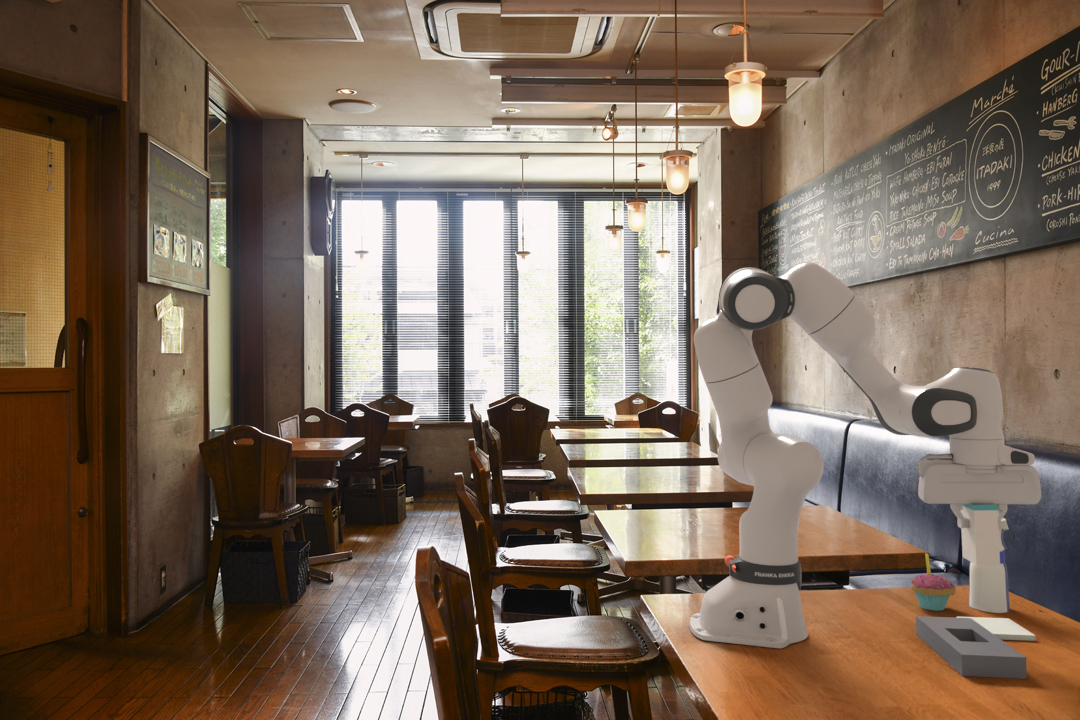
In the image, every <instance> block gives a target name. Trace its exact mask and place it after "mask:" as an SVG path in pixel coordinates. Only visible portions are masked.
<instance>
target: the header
mask: <svg viewBox="0 0 1080 720" xmlns="http://www.w3.org/2000/svg"><path fill="white" fill-rule="evenodd" d="M915 635H916V636H918V638H919V639H920V640H922V641H923V642H924V644H926V645H927V646H928V647H930V648H931V650H932V651H934V652H935V653H936V655H939V657H941V658H942V659H943V660H944V661H945V662H946V663H948V665H949V666H950V667H952V669H954V670H955V671H956V672H957V673H958V674H959V675H961V676H962V677H978V678H980V677H981V678H1000V679H1020V680H1021V679H1025V680H1027V679H1028V678H1027V675H1028V674H1027V657H1026V656H1025V655H1024V654H1022V653H1021V652H1019V651H1018V650H1016V649H1015V648H1013V646H1011V645H1010V644H1008V643H1007V642H1005V640H1004V641H1003V640H1002V639H999V638H998V637H997V636H995V635H994V634H992V633H991V632H990V631H988V630H987V629H985V628H984V627H983V626H981V625H980V624H978V623H977V622H975V621H974V620H973V619H971V618H956V617H950V616H948V617H947V616H924V615H922V616H920V615H918V616H917V615H916V616H915Z"/></svg>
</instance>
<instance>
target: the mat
mask: <svg viewBox="0 0 1080 720" xmlns="http://www.w3.org/2000/svg"><path fill="white" fill-rule="evenodd" d="M955 618H971V619H973V620H974V621H975V622H977V623H978V624H980V625H981V626H983V627H984V628H985V629H987V630H988V631H990V632H991V633H992V634H994V635H995V636H997V637H998V638H999V639H1001V640H1002V641H1003V640H1004V641H1005V640H1007V641H1009V640H1010V641H1031V642H1036V640H1037V637H1036V635H1035V634H1034V633H1033V632H1030V631H1029V630H1028V629H1026V628H1024V627H1023V626H1021V625H1020V624H1018V623H1017V622H1015V621H1013V620H1012V619H1010V618H1009V617H1008V618H1007V617H1006V618H1005V617H980V616H978V617H977V616H956V617H955Z"/></svg>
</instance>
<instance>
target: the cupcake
mask: <svg viewBox="0 0 1080 720" xmlns="http://www.w3.org/2000/svg"><path fill="white" fill-rule="evenodd" d="M924 554H925V565H926V573H921V574H918V575H916V576H914V578H912V579H911V584H910V589H911V590H912V591H913V592H914V594H915V596H916V599H917V601H918V604H919V607H920V608H922V609H924V610H928V611H933V612H939V611H941V612H942V611H944V610H945V609H946V606H947V603H948V601H949V598H950V597H951V596H954V595H955V593H956V587H955V584H954V583H952V581H951V580H949V579H948V578H947V577H944V576H943V575H938V574H934V573H931V572H932V571H931V564H930V556H929V553H928V551H927V549H925V553H924Z"/></svg>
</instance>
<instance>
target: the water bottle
mask: <svg viewBox="0 0 1080 720" xmlns="http://www.w3.org/2000/svg"><path fill="white" fill-rule="evenodd" d="M1007 522H1008V521H1007V519H1006V518H1004V517H1003V518H1002V519H1001V528H998V530H999V551H1000V565H975V564H974V563H972V562H970V561H969V566H968V571H969V572H968V574H969V575H968V576H969V577H968V578H969V579H968V581H969V585H968V587H969V588H968V606H969V607H970V608H972V609H974V610H978V611H981V612H986V613H987V612H988V613H995V614H1003V613H1005V614H1006V613H1009V612H1010V611H1011V605H1010V596H1009V574H1008V566H1007V563H1006V550H1007V548H1008V547H1007V546H1006V544H1005V541H1004V532H1005V531H1009V530H1010V528H1009V525H1008V523H1007Z"/></svg>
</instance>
